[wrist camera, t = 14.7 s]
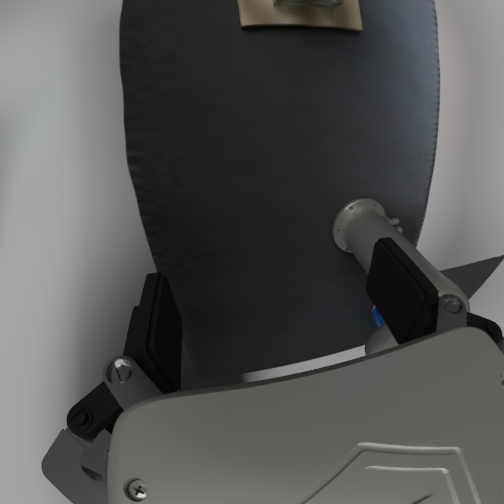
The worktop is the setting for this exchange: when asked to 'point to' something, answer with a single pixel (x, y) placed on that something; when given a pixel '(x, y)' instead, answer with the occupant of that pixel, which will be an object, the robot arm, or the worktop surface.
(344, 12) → the collar board
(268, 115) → the worktop surface
